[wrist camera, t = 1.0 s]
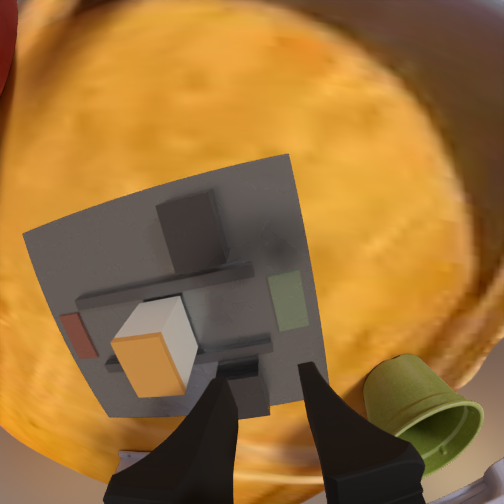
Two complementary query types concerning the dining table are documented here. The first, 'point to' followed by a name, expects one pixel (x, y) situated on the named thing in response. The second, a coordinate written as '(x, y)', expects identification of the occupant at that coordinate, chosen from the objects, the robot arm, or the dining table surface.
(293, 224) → the panel
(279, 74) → the dining table surface
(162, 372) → the white orange block
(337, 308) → the dining table surface
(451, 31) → the dining table surface
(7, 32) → the mixing bowl
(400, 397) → the plant pot
